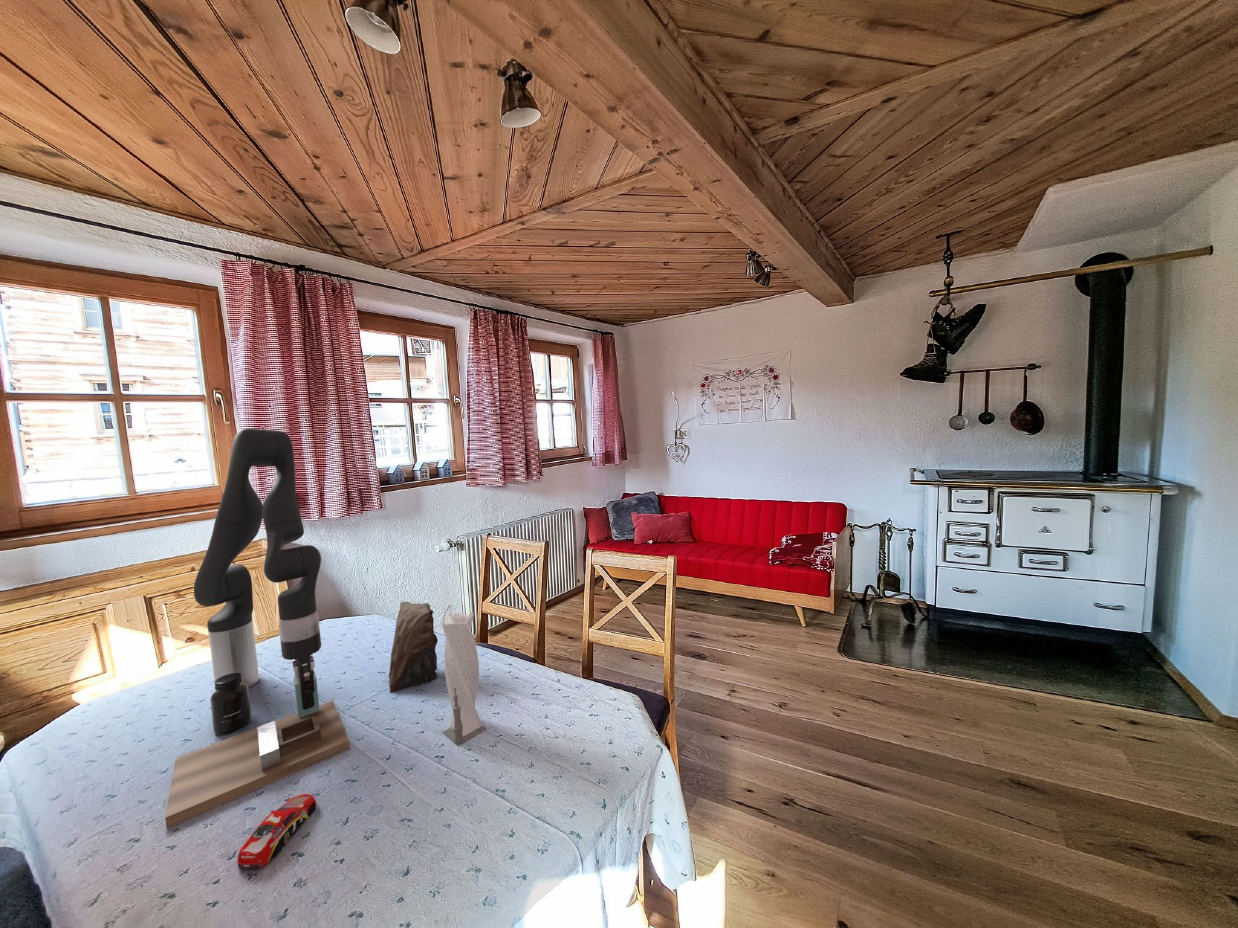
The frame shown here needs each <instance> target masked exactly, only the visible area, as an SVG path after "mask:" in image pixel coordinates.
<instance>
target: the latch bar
mask: <svg viewBox="0 0 1238 928" xmlns="http://www.w3.org/2000/svg"><path fill="white" fill-rule="evenodd" d="M275 721H276V720H273V721H269V722H268V723H265V724H261V725H258V726H257V727H256V728H258V739H259V750H260V760H261V768H262V770H263V769H266V768H268V767H271V766H273V765H276V764H278V763H280V762H281V761H280V753H279V745H278V738H277V732H276V725H275Z"/></svg>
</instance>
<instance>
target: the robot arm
mask: <svg viewBox="0 0 1238 928" xmlns="http://www.w3.org/2000/svg"><path fill="white" fill-rule="evenodd" d="M293 447H294V446H293V441H292V439H291V437H290V435H289V434H288V433H287V432H285V431H282V430H275V429H274V430H273V429H265V428H263V429H261V428H251V427H250V428H249V427H247V428H246V427H245V428H241V429H239V430H238V431H237V433H236V434H235V436H234V437H233V441H232V446H231V452H230V457H229V463H228V464H229V465H228V471H227V478H226V480H225V486H224V488H223V489H224V490H223V494H222V497H221V500H220V502H219V503H220V504H219V506H218V508H217V512H216V516H215V520H214V523H213V529H212V534H211V537H210V540H209V543H208V544H209V545H208V547H207V550H206V552H205V556H204V558H203V560H202V562H201V565H200V568H199V570H198V571H197V574H196V576H195V580H194V583H193V595H194V599H195V601H196V602H197V604H198V605H200V606H202V607H214V606H217V605H221V604H222V605H223V604H224V603H225V604H224V606H222V608H221V609H220V610H218V611H217V612H215V614H213V615H211V616H210V617H209V619H208V620H207V623H206V624H207V631H208V641H209V648H210V654H211V664H212V671H213V679H214V682H215V681H216V680H217V679H218V678H220V677H222V676H224V675H227V674H231V673H241V675H242V683H244V684H246V685H247V686H248V688H250V687H252V686H254V685H256V683H258V682H259V680H260V674H259V665H258V664H259V663H258V657H257V655H258V654H257V648H256V647H257V646H256V639H255V632H254V630H255V629H254V624H253V621H254V620H253V611H254V598H253V597H254V596H253V582H252V581H253V580H252V576H251V573H250V570H248V568H247V567H246V566H245V565H243V564H240V563H235V564H232V563H233V562H234V560H235V559H236V558H237V557H238V556H239V555H240V554H241V553H242V552H243V551H244V550H245V549H246V548H247V547H248V546H249V545H250V544H251V543H252V542H253V540H254V539H255V538H256V536H258V534H259V531H260V528H261V525H262V523H263V524H264V530H265V533H266V541H267V542H266V543H267V544H266V545H267V546H266V553H265V559H264V564H263V565H264V566H263V567H264V568H263V573H264V575H265V578H266V579H267V580H268V581H270V582H272V583H282V582H287V581H292V580H295V579H300V581H299V582H298V583H297V584H295V585H294V586H292V587H289V588H286V589H284V590H283V591H281V592H280V593H279V594H278V596H277V606H278V614H279V625H278V626H279V629H278V630H279V638H280V648H281V657H282V658H283V659H284V660H287V661H288V660H289V661H292V668H293V672H294V677H295V678H296V681H297V685H300V691H301V692H300V694H301V696H302V706H303V709H304V710H306V709H309V708H312V707H313V706H314V695H313V692H315V688H314V680H315V675H316V674H314V672H315V667H316V666H315V664H316V663H315V659H314V656H313V655H314V654H316V653H317V652H318V651H320V649H322V638H321V637H322V636H321V628H320V619H319V615H318V612H317V611H318V610H317V601H316V599H317V598H316V588H317V581H318V576H319V572H320V568H321V562H322V556H321V552H320V551H319V549H317V547H315V546H314V545H311V544H308V545H301V546H296V547H291V548H286V549H282V547H284V546H286V545H288V544H290V543H292V542H295V541H298V540H299V539H302V537H303V535H304V534H305V529H304V528H305V527H304V524H303V520H302V516H301V512H300V509H299V504H298V498H297V490H296V489H297V487H296V486H297V485H296V467H295V456H294V448H293ZM252 467H265V468H267V467H268V468H269V467H270V468H271V467H272V468H275V470H276V480H275V481H274V483H273V486H272V487H271V489H270V491H269V492H268V494H267V496H266V498H265V500H264V502H262V500H261V499H260V497H259V495H258V494H257V492H256V491H255V490H254V488H253V486H252V484H251V481H250V477H249V475H250V470H251V468H252ZM299 678H300V680H299ZM308 686H311V687H308ZM305 687H307V688H305Z"/></svg>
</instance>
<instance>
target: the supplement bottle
mask: <svg viewBox="0 0 1238 928" xmlns="http://www.w3.org/2000/svg"><path fill="white" fill-rule="evenodd" d="M214 690H215V691H214V692H213V693H212V695H211V696H210V709H211V718H212V728H213V733H214V734H215V735H217V736H225V735H230V734H234V733H236V732H238V731H240V730H242V729H244V728H245V727H247V726H248V725H249V723H250V722H251V721H252V713H251V712H252V711H251V701H250V690H249V687H248V686H247V685H246V684H244V683H242V675H241V673H231V674H227V675H224V676H222V677H220V678H218V679H217V680H216V681H214Z"/></svg>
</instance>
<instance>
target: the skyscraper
mask: <svg viewBox="0 0 1238 928" xmlns="http://www.w3.org/2000/svg"><path fill="white" fill-rule="evenodd" d="M444 610H445V611H444V612H443V615H442V619H441V626H442V627H441V628H442V630H443V634H444V635H445V642H444V653H443V654H444V655H443V657H444V659H443V660H444V662H443V663H444V672H445V673H444V674H445V681H446V689H447V693H448V696H449V702H450V706H451V709H452V714H451V715H452V716H451V721H450V727H449V728H447V729H445V730H443V731H442V733H443V735H444V736H446V737H447V738H448V739H449V740H450V741H452V743H453V744H454V745H455V746H457V747H460V746H461V745H463V744H465V743H467V741H470V740H471V739H473V738H475V737H476V736H479V735H480V734H482V733H483V732H485V731H487V730H488V728H487V727H485V726H484V724H483V722H482V720H481V718H480V715H479V712H478V709H476V701H477V697H478V691H479V690H478V689H479V681H480V661H479V654H478V653H479V652H478V648H477V646H476V641H475V639H474V636H473V633H472V631H471V630H472V624H473V620H474V616H475V613H474V611H471V612H470V613H469V614H464V613H462V612H456V613H454V614H452V605H451V604H449V605H448V606H447V607H446V609H444ZM448 610H449V612H448ZM447 612H448V618H447V619H446V614H447ZM445 619H446V620H445Z"/></svg>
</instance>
